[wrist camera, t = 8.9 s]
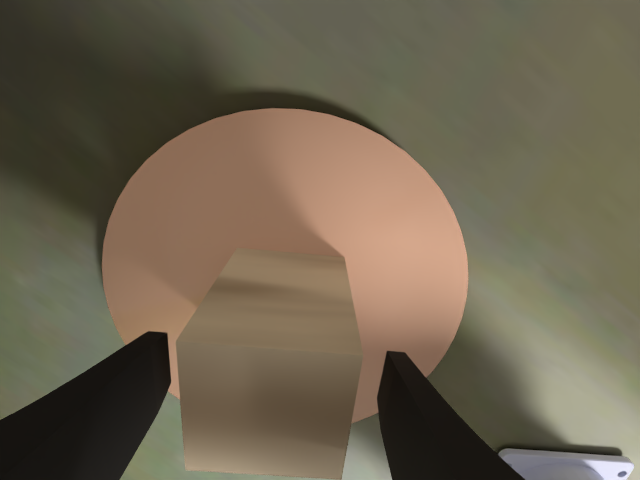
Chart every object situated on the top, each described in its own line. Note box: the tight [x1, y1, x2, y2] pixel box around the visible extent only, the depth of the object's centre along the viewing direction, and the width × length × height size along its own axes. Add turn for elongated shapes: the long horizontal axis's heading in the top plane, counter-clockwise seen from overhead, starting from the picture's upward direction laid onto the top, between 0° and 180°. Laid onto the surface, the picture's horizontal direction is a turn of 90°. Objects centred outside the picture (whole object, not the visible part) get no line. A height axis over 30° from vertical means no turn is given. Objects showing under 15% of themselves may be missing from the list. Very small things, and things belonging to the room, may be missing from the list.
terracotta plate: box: [102, 108, 468, 423], centre depth 14 cm, size 16×16×1 cm
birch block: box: [176, 248, 363, 480], centre depth 11 cm, size 4×4×6 cm
